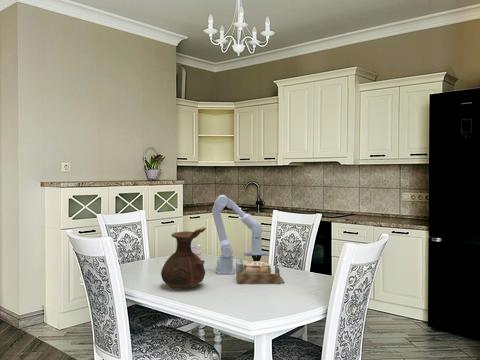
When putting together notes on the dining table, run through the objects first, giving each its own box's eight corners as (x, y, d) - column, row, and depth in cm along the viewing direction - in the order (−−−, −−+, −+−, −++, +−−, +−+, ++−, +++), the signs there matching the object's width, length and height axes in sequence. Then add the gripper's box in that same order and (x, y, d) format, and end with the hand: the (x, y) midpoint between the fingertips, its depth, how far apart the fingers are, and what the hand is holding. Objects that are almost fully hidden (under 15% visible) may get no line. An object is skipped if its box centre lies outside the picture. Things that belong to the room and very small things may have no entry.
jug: (167, 294, 210) (167, 230, 210) (156, 283, 230) (157, 224, 230) (211, 289, 219) (211, 228, 219) (197, 279, 239) (197, 223, 238)
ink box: (201, 263, 281) (201, 239, 280) (198, 265, 276) (198, 241, 276) (188, 262, 283) (189, 239, 283) (185, 264, 279) (185, 240, 278)
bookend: (277, 283, 232) (277, 269, 232) (274, 277, 244) (274, 264, 244) (284, 283, 232) (284, 269, 232) (281, 277, 245) (281, 264, 244)
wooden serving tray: (237, 284, 230) (237, 264, 230) (236, 278, 243) (236, 259, 243) (280, 283, 231) (280, 264, 231) (276, 277, 244) (276, 259, 244)
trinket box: (273, 277, 245) (274, 263, 245) (248, 279, 240) (248, 264, 240) (263, 272, 258) (264, 258, 258) (239, 274, 252) (239, 260, 252)
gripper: (244, 245, 252) (244, 270, 252) (270, 245, 253) (269, 269, 253) (243, 243, 259) (243, 267, 259) (268, 243, 260) (268, 267, 260)
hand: (256, 268), depth 257 cm, fingers closed
